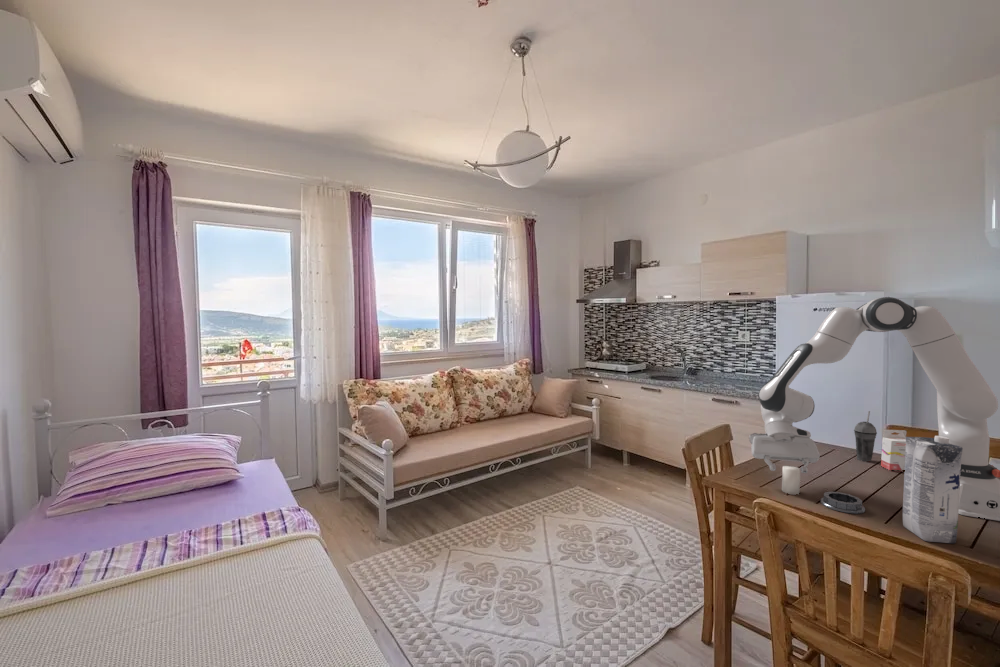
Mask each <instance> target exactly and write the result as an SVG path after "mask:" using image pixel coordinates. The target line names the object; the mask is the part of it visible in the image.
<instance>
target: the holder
mask: <svg viewBox="0 0 1000 667" xmlns="http://www.w3.org/2000/svg"><path fill="white" fill-rule="evenodd" d="M820 504H821V505H822V506H824V507H825V508H828V509H830V510H833V511H835V510H836V512H839V511H840V512H839V513H843V512H844V513H845V514H849V515H861V514H863V513H866V508H865V506H864V505H863V500H862V499H861V498H859V497H858V496H855V495H852V494H850V493H845V492H839V491H827V492H824V493H823V497H822V498H820Z"/></svg>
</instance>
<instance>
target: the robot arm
mask: <svg viewBox="0 0 1000 667" xmlns="http://www.w3.org/2000/svg"><path fill="white" fill-rule="evenodd" d="M865 331H867V332H875V333H887V332H890V331H898V332H900V333H901V334H902V335H903V336H904V337H905V338H906V340H907V342H908V344H909V347H911V348H910V349H912V351H913V352H914V355H915V358H917V360H918V362H919V364H920V366H921V367H922V369H923V371H924V372H925V374H926V375H927V378H928V379H929V380H930V381H931V383H932V385H933V386H934V388H935V389H936V410H937V413H936V414H937V427H938V436H942V437H947V438H949V439H950V440H949V444H953V445H957V446H960V447H962V448H963V449H962V456H961V473H960V492H959V511H958V515H962V516H966V517H972V518H978V517H980V518H981V519H984V518H985V519H986V520H992V521H997V522H1000V479H999V478H1000V469H998V468H997V467H995V466H994V465H993V464H992V465H991V464H990V463H989V459H990V458H989V456H990V440H991V439H990V435H989V429H988V420H987V419H989V418H991V417H992V416H994V415H995V414H996V412H997V410H998V407H999V401H998V399H997V396H996V394H995V393H994V391H993V390H992V388H991V386H990V384H989V383H988V382H987V381H986V380H985V378H984V376H983V374H982V373H981V372H980V370H979V369H978V368H977V366H976V365H975V363H974V362H973V360H972V359H971V358H970V356H969V355H968V353H967V351H966V349H965V347H964V346H963V344H962V343H961V341H960V339H959V337H958V336H957V334H956V332H955V330H954V329H953V327H952V326H951V324H950V323H949V322H948V321H947V319H946V318H945V317H944V315H942V313H941V312H940V311H939V310H938V309H937V308H935V307H933V306H930V305H929V306H928V305H921V306H915V307H913V306H912V305H910V304H908V303H906V302H904V301H903V300H901V299H899V298H895V297H890V296H886V297H885V296H884V297H878V298H877V297H876V298H874V299H872V300H869V301H868V302H866V303H864V304H862V305H861V306H859V307H858V308H856V309H854V308H851V307H847V306H839V307H836V308H833V309H832V310H831V311H830V313H829V314H828V315H827V316H826V317H825V318H824V320H823V321H822V322H821V324H820V325H819V327H818V329H817V330H816V331H815V334H814V335H813V336H812V337H811V338H810V339H809V340H808V341H807V342H805V343H801V344H800V345H798V346H796V348H794V350H792V352H791V353H790V355H789V356H788V357H786V359H785V360H784V362H783V363H782V364H781V366H780V367H779V368H778V369H777V371H776V372H775V373H774V374H773V376H772V377H771V378H770V379H769V380H768V381H767V382H766V383H765V384H763V385H762V386H761V388H760V389H759V391H758V401H759V403H760V412H761V417H762V421H763V422H764V431H765V433H758V432H753V433H751V434H749V435H748V441H749V442H750V444H751V448H750V449H751V455H752V457H753V458H754V459H760V460H762V459H763V460H764V462H765V463H766V464H767V466H768V467H769V470H770V471H773V472H774V471H776V470H777V467H776V466H777V465H776V464H775V463H773V462H772V461H771V460H774V461H775V460H776V461H787V462H788V461H789V462H799V463H802V464H803V465H801V467H799V469H800V474H808V472H809V470H808V466H809V464H810V463H812V464H813V463H815V464H816V463H817V462H818V461H819V459H820V457H821V456H820V451H819V448H818V447H817V444H816V442H815V441H814V440H813V439H812V438H811V437H812V434H811V432H810V431H808V430H805V429H801V428H799V427H796V426H794V425H793V423H798V422H801V421H805V420H807V419H808V418H810V417H811V416H812V415H813V414H814V412H815V405H816V404H815V401H814V399H813V397H811V396H810V395H809V394H807V393H804V392H801V391H799V390H797V389H793V388H790V385H791V384H792V383H793V381H794V380H795V379H796V377H797V376H798V375H799V374H800V373H801V372H802V370H803V369H804V368H806V367H808V366H810V365H815V364H832V363H837V362H840V361H842V360H843V359H845V357H846V356H847V355H848V354H849V353H850V351H851V349H852V347H853V346H854V344H855V343H856V340H857V338H858V337H859V336H860V335H861V334H862V333H863V332H865ZM980 518H979V519H980Z"/></svg>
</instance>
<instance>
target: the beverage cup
mask: <svg viewBox="0 0 1000 667" xmlns="http://www.w3.org/2000/svg"><path fill="white" fill-rule="evenodd" d="M870 415H871V411H870V410H868V411H867V417H866V421H860V422H858V423H857V424H856V425H855V426H854V429H853V431H854V432H853V434H854V436H855V450H856V459H857V461H860V460H862V461H861V462H865V461H871V462H872V460H873V456H874V455H873V454H874V450H875V449H874V448H875V447H874V446H875V440H876V438H877V434H878V432H877V428H876V427H875V425H874V424H872V423H871V422H869V419H870Z"/></svg>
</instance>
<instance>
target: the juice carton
mask: <svg viewBox="0 0 1000 667" xmlns="http://www.w3.org/2000/svg"><path fill="white" fill-rule="evenodd" d="M949 440H950V439H949V438H947V437H942V436H939V435H934V437H926V436H925V437H924V436H906V452H905V472H903V473H904V475H903V497H902V498H903V500H902V526H903V527H904V528H905V529H906V530H908V531H910V532H911V533H913V534H914V535H915V536H917V537H918V538H919V539H921V540H922V541H925V542H931V543H944V544H956V543H957V540H958V539H957V537H958V528H959V527H958V526H959V513H958V511H959V492H960V473H961V456H962V449H963V448H962V447H960V446H957V445H953V444H949Z"/></svg>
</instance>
